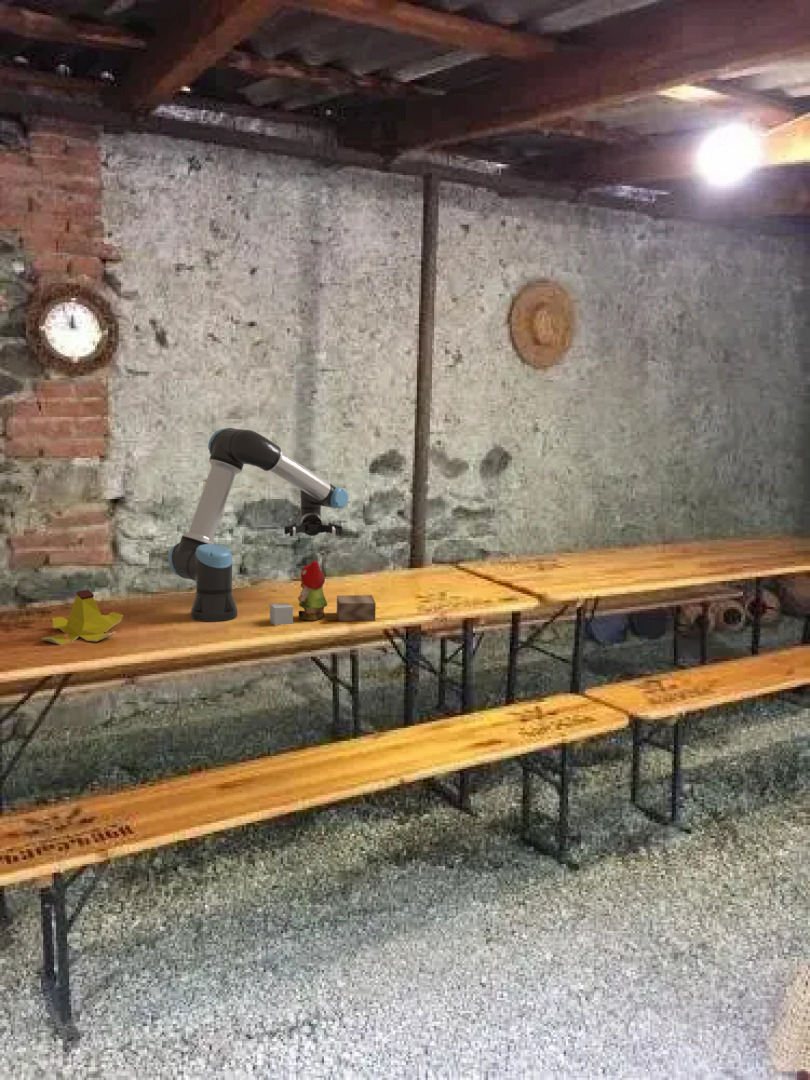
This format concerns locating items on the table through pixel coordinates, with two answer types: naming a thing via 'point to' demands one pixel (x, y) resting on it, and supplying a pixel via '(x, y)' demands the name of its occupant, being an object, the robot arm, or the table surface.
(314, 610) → the figurine
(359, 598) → the pedestal
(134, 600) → the table surface
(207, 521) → the robot arm
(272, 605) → the grey cube
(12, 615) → the table surface
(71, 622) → the banana peel
